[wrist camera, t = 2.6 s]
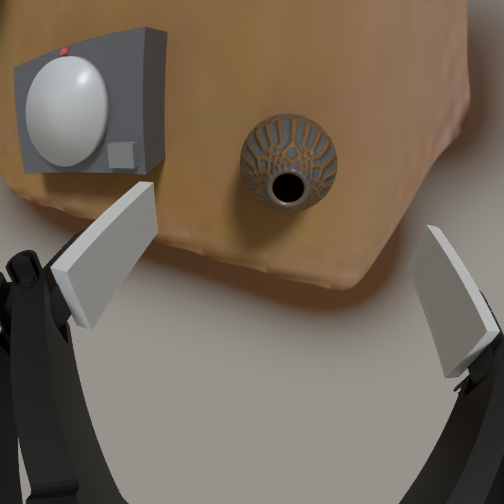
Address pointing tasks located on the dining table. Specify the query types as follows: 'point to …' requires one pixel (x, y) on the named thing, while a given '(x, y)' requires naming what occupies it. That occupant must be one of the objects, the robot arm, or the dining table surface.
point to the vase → (288, 162)
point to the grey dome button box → (94, 105)
